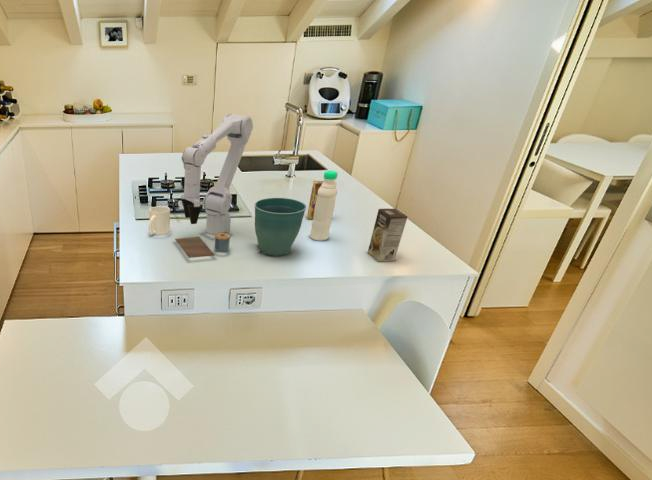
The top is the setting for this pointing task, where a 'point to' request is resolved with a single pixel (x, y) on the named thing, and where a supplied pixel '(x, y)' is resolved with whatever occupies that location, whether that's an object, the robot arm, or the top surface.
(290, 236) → the flower pot
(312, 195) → the candy box
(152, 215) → the mug
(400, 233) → the coffee box
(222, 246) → the sugar pot
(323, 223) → the water bottle
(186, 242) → the cutting board
